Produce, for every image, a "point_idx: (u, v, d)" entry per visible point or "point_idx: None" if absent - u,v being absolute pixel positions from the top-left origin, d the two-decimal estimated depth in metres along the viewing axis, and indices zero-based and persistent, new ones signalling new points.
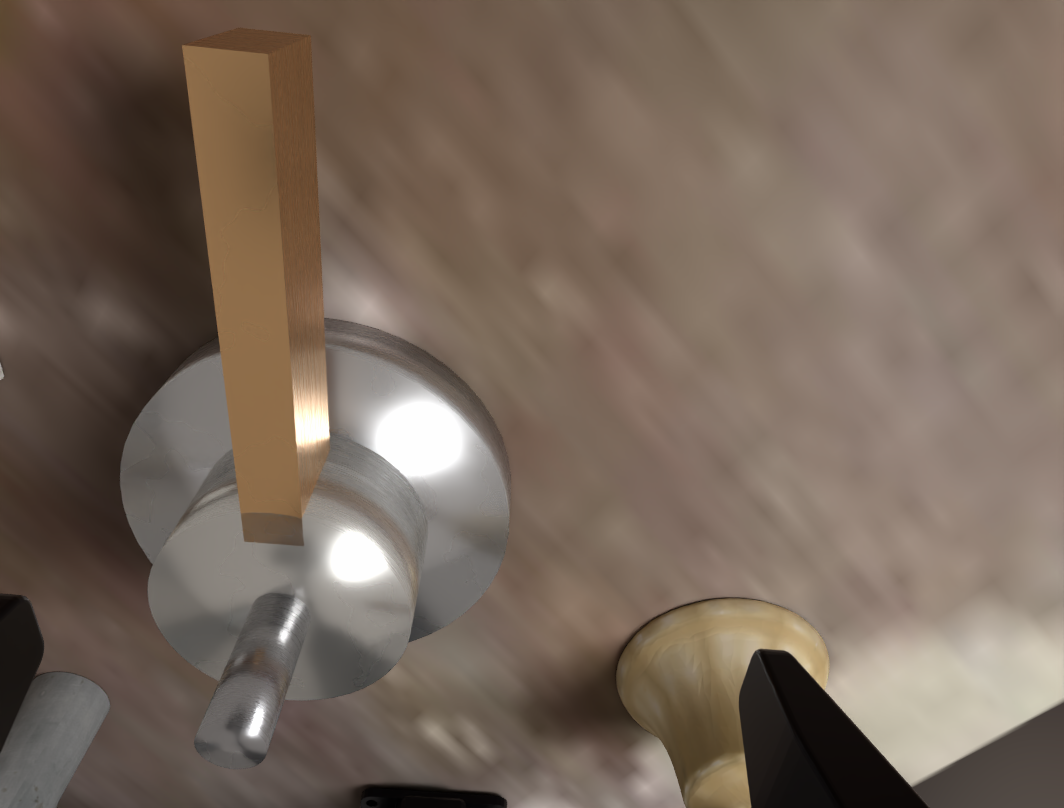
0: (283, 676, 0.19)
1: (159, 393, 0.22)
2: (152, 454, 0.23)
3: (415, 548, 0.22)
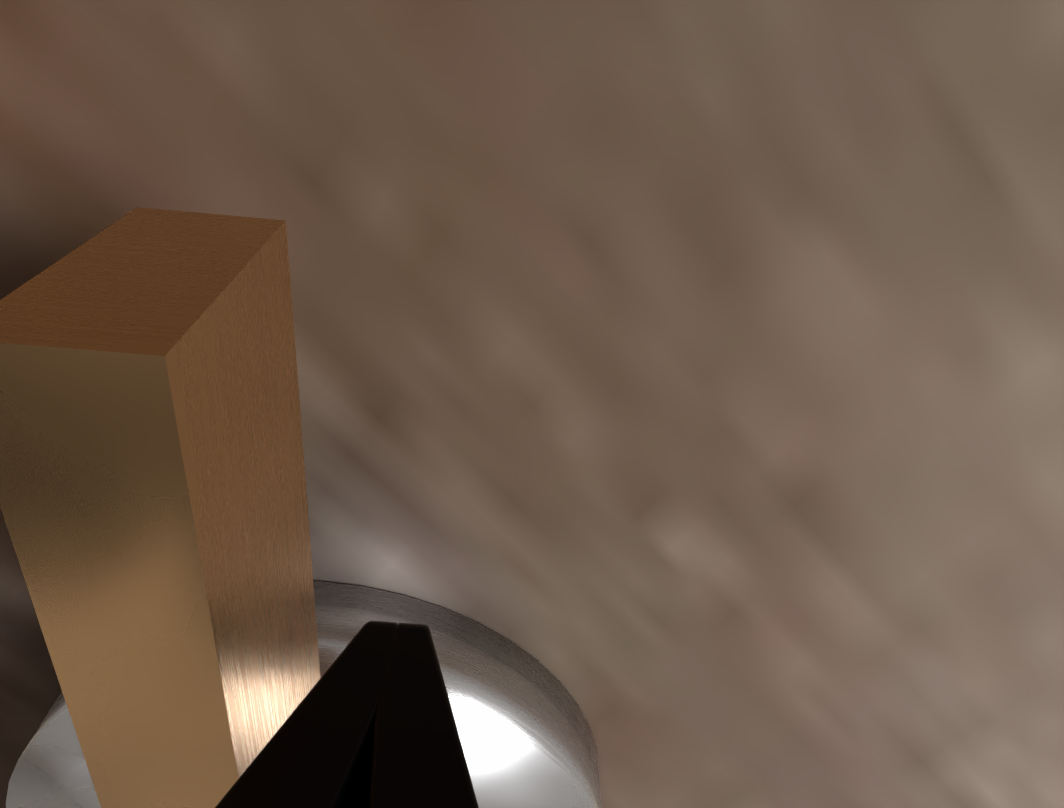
0: None
1: (56, 721, 0.14)
2: (53, 793, 0.15)
3: None
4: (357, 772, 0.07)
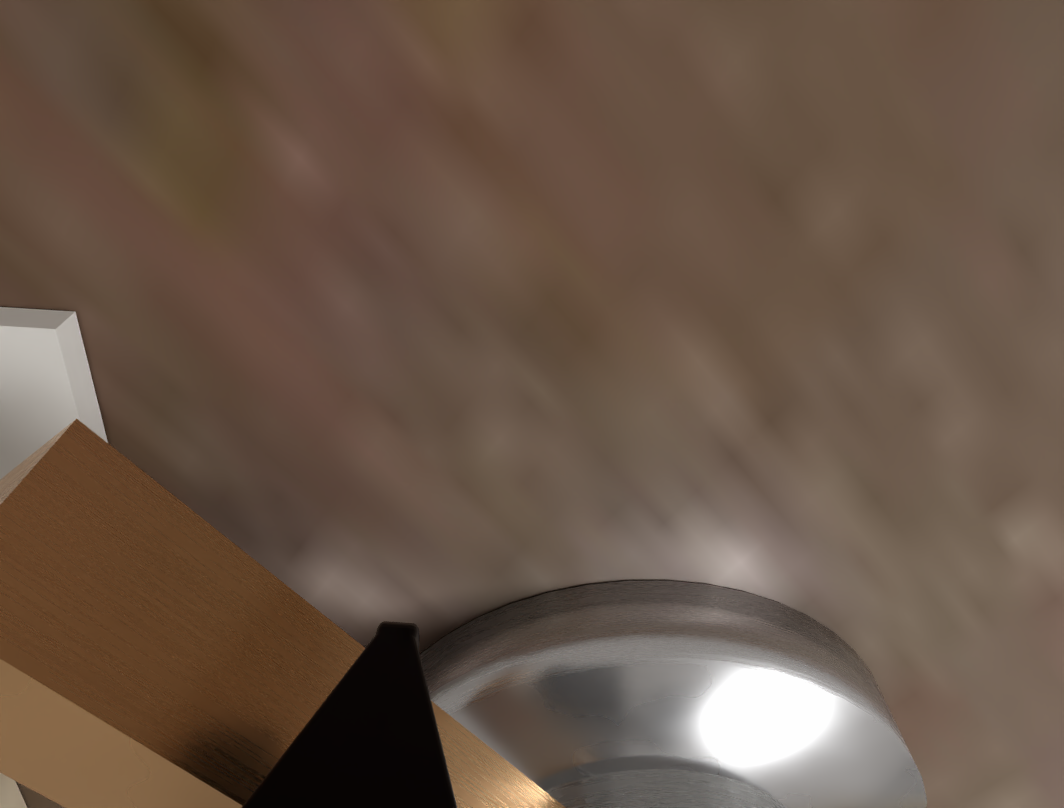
0: None
1: None
2: None
3: None
4: None
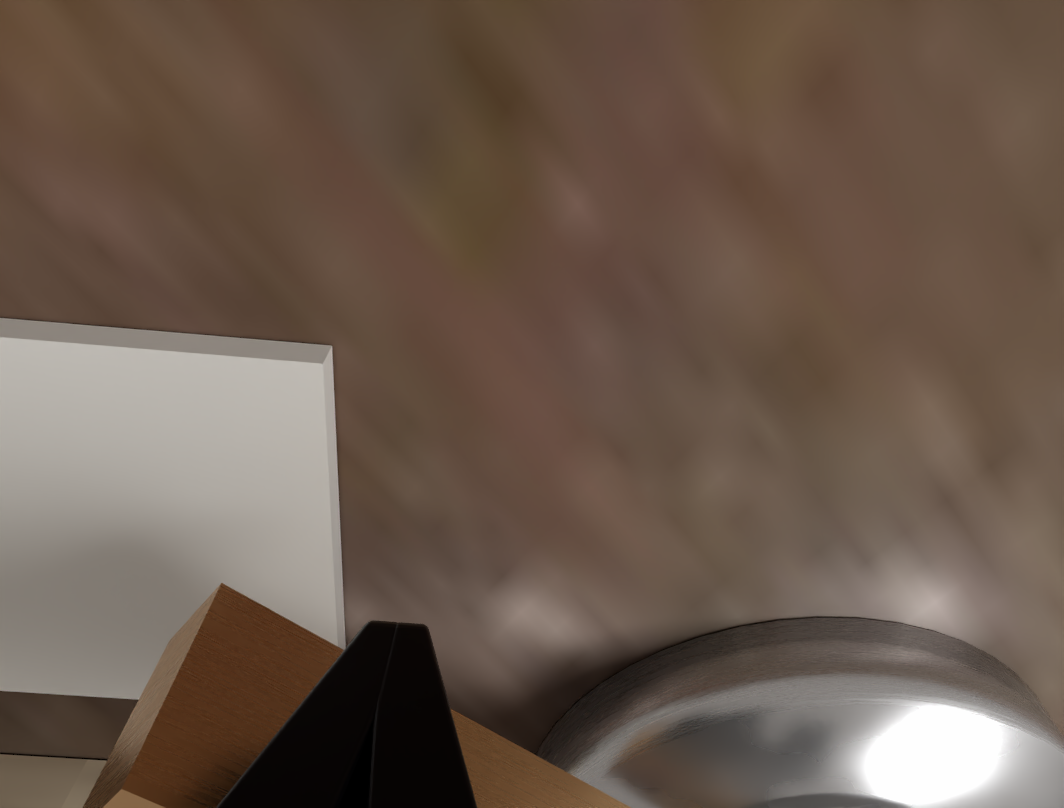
0: None
1: (639, 756, 0.14)
2: None
3: None
4: (358, 772, 0.07)
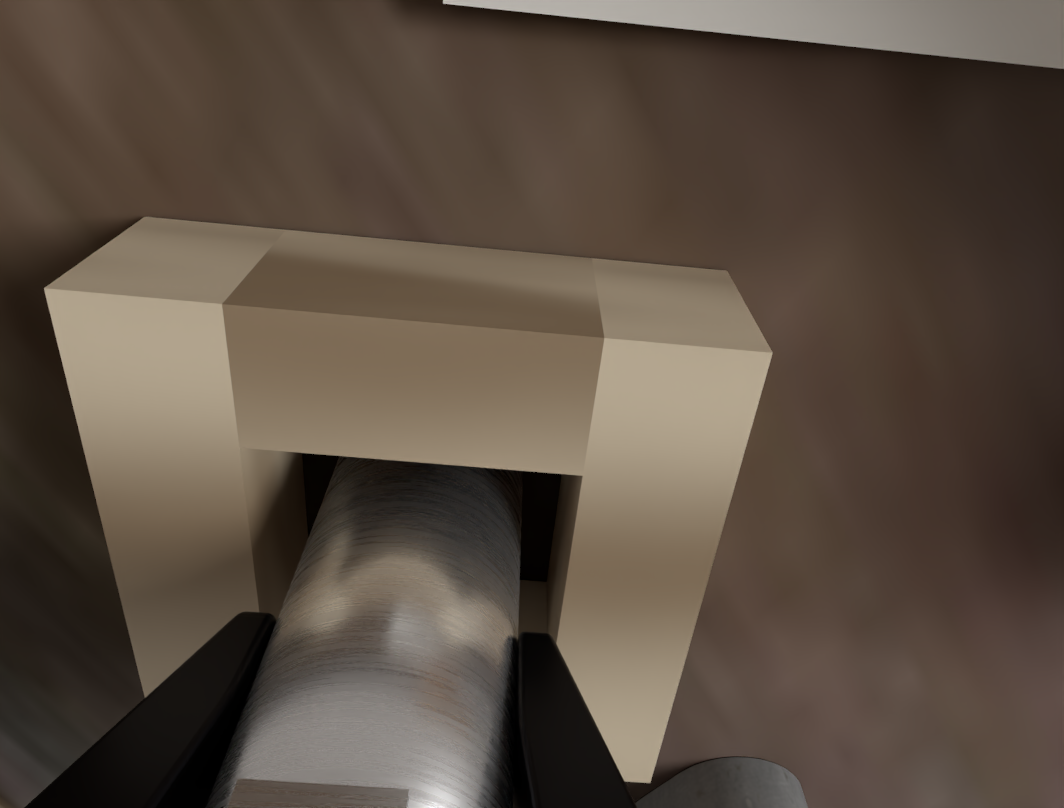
0: None
1: None
2: None
3: None
4: (198, 762, 0.07)
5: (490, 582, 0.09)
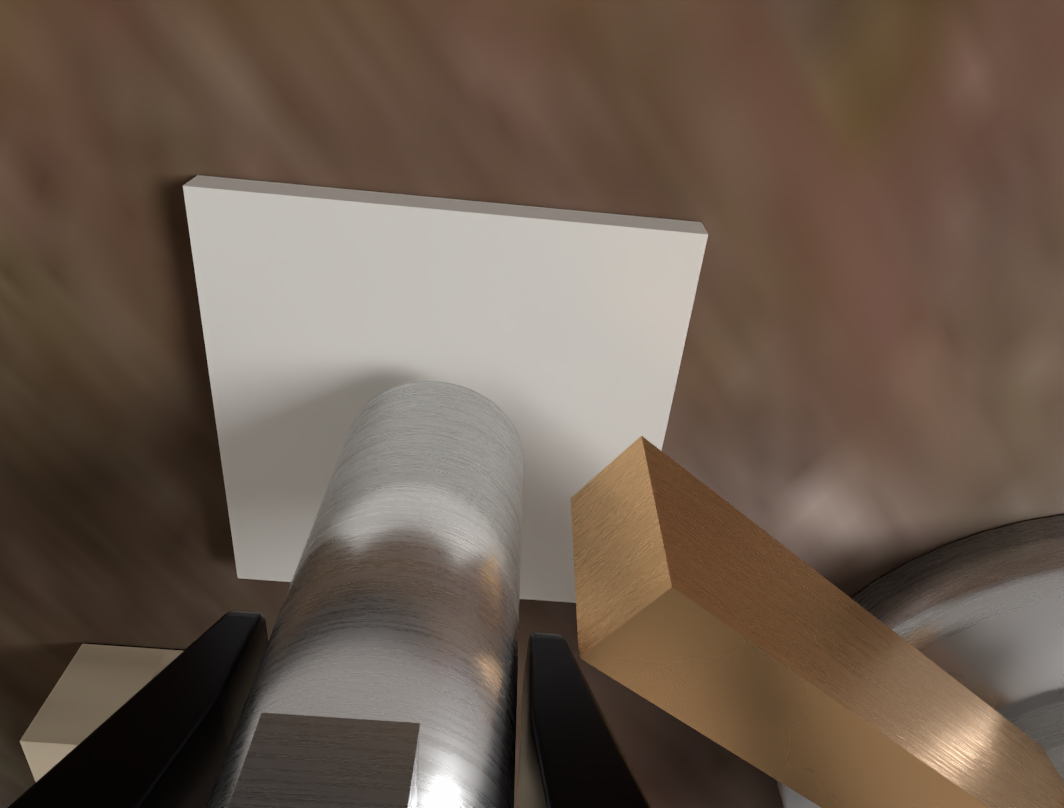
0: None
1: (947, 639, 0.15)
2: None
3: None
4: (184, 761, 0.07)
5: (492, 552, 0.10)
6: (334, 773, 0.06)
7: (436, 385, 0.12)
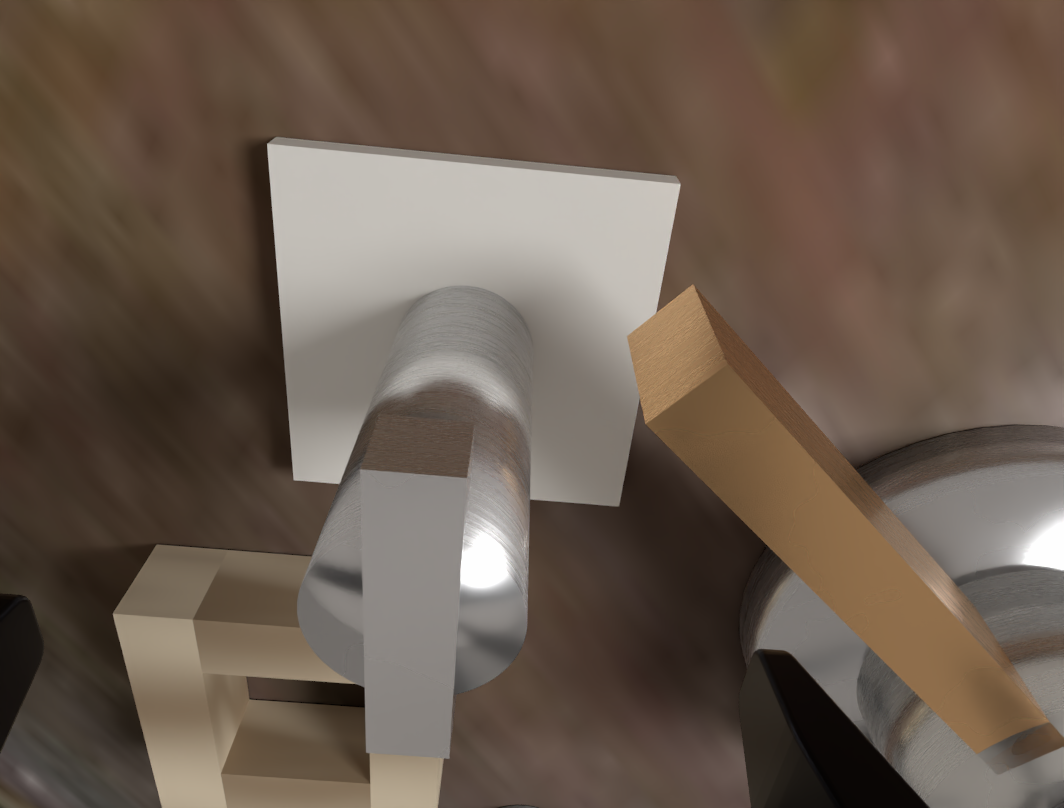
0: None
1: None
2: None
3: None
4: None
5: (512, 387, 0.14)
6: (426, 438, 0.09)
7: (467, 288, 0.16)
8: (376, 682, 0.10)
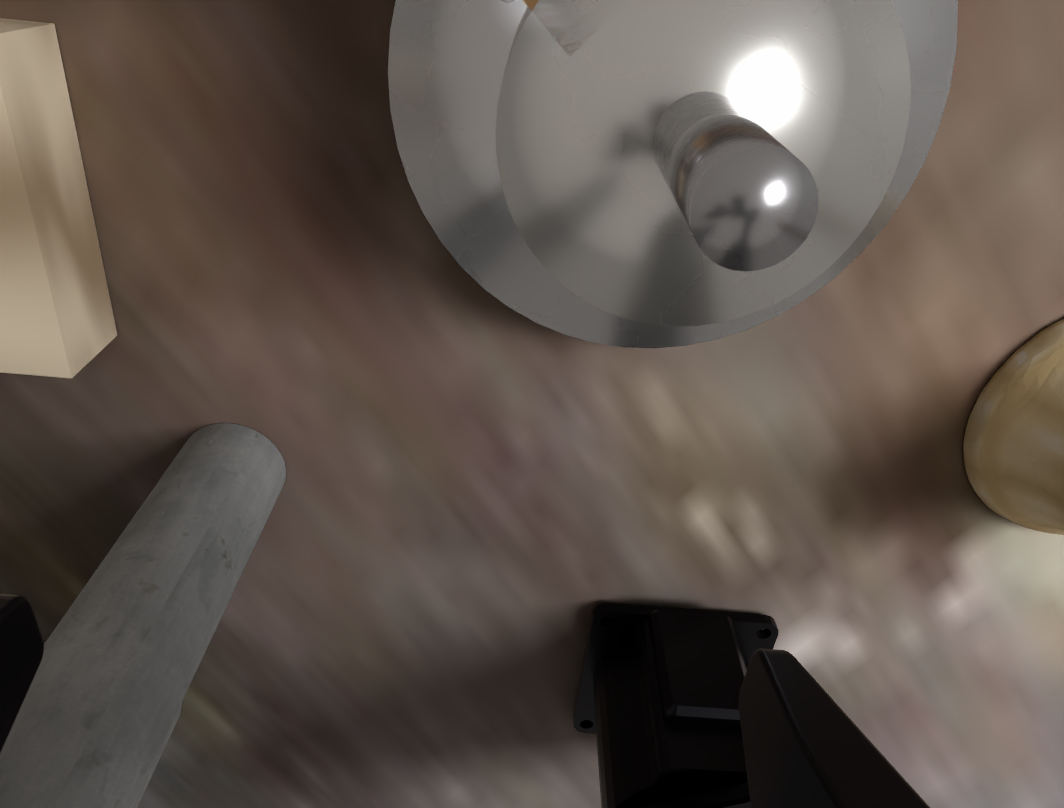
0: (753, 123, 0.11)
1: None
2: None
3: None
4: None
5: None
6: None
7: None
8: None
